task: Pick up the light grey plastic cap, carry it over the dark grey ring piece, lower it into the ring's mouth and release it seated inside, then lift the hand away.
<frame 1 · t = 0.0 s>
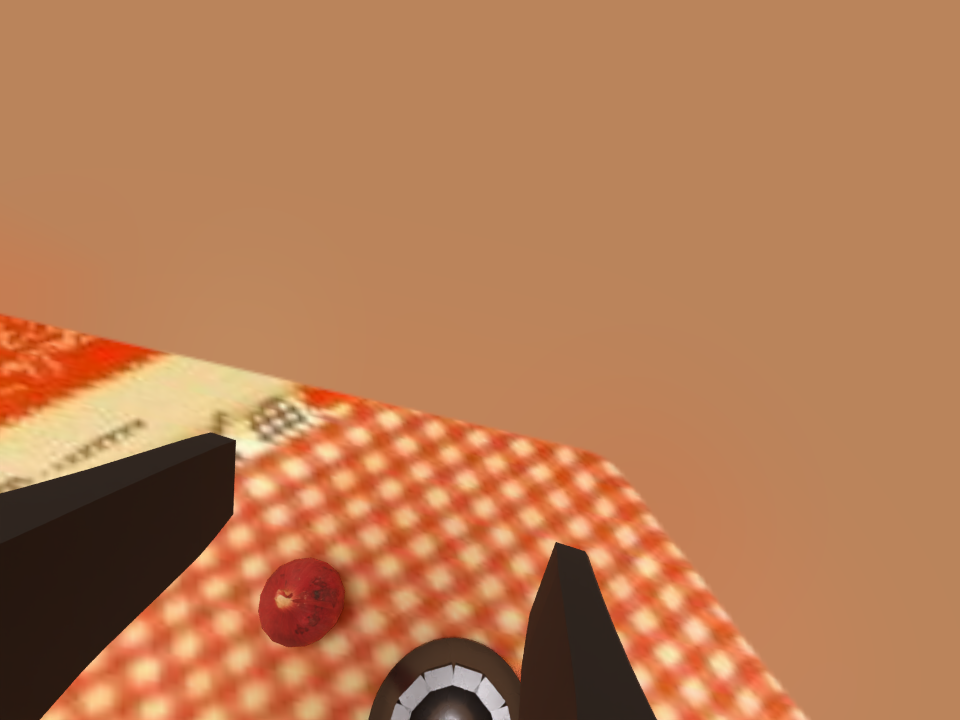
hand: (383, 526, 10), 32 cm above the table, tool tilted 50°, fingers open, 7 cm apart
onion: (316, 601, 38), on the table
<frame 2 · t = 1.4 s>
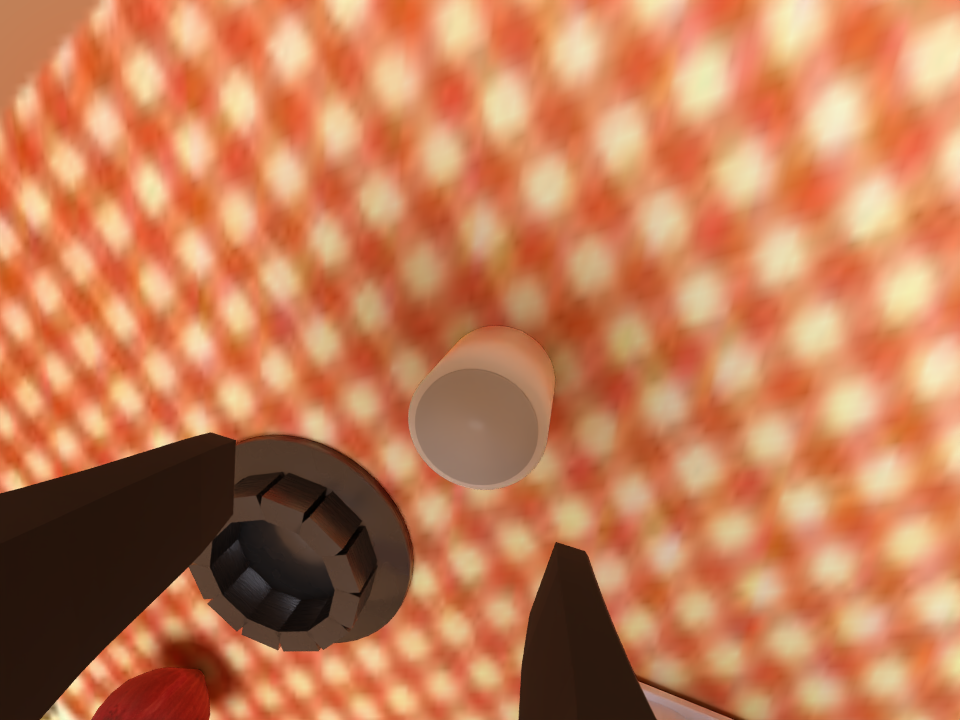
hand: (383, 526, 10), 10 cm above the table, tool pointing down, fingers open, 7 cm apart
onion: (200, 668, 29), on the table
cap: (498, 379, 19), on the table
dark grey ring piece: (301, 541, 24), on the table
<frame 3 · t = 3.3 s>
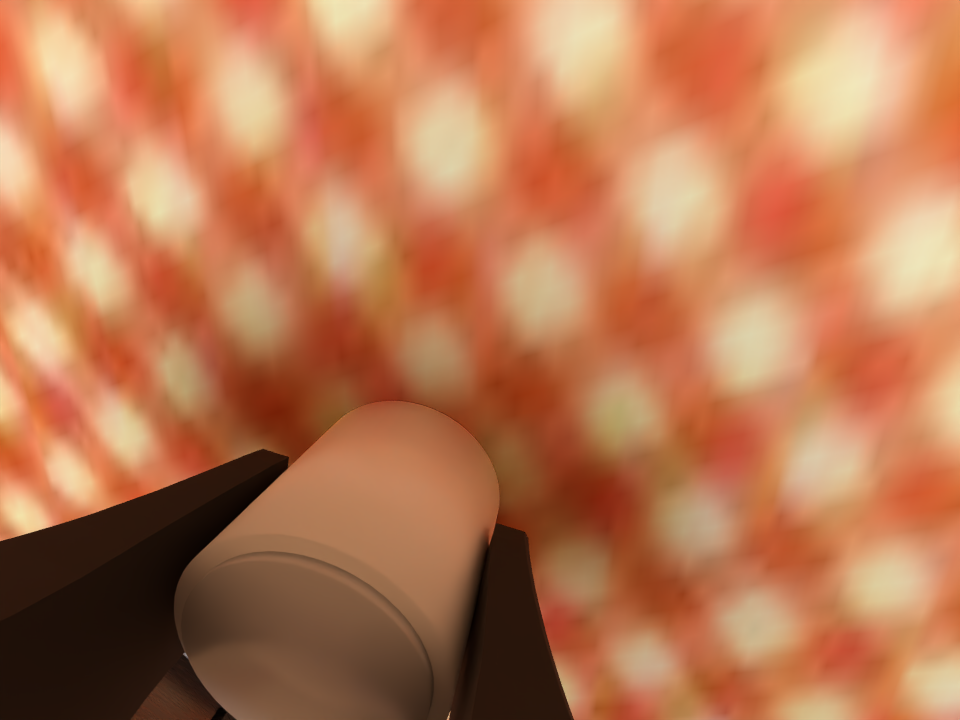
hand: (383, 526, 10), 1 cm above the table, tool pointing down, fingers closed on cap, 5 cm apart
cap: (405, 487, 11), on the table, touching gripper
dark grey ring piece: (161, 705, 16), on the table
when the fingers open (3 cm above the table, at t = 7.2 s): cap drops 1 cm, resting on dark grey ring piece.
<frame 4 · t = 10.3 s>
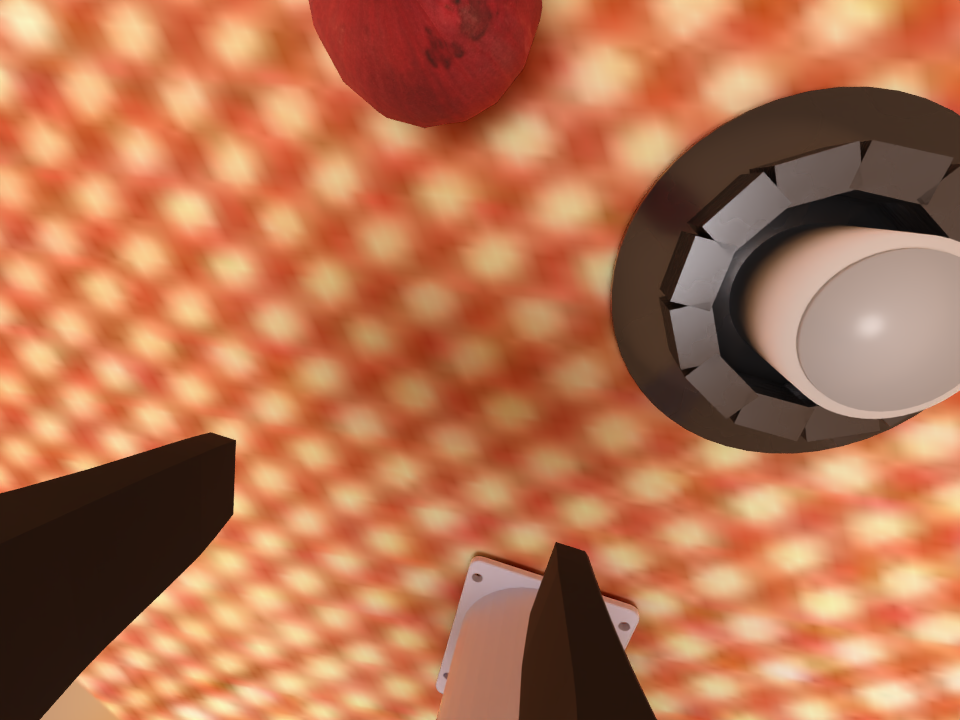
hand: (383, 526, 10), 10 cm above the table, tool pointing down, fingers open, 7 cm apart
onion: (461, 45, 16), on the table
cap: (805, 295, 15), point 1 cm above the table, touching dark grey ring piece
dark grey ring piece: (792, 289, 16), on the table
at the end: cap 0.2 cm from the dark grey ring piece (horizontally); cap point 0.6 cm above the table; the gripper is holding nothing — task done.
